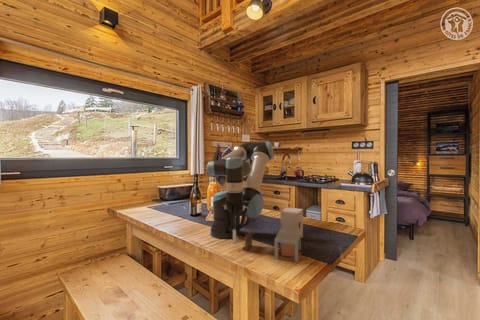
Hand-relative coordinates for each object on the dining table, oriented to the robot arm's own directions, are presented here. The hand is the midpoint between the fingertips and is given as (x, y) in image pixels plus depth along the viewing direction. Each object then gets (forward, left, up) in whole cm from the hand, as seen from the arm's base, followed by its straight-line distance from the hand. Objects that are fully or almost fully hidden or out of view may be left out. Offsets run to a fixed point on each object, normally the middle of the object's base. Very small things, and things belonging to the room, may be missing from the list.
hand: (235, 242), depth 102 cm
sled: (+17, 0, -3) cm, 18 cm away
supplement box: (+23, +20, -3) cm, 31 cm away
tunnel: (+24, 0, -3) cm, 24 cm away
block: (+24, 0, -2) cm, 24 cm away
